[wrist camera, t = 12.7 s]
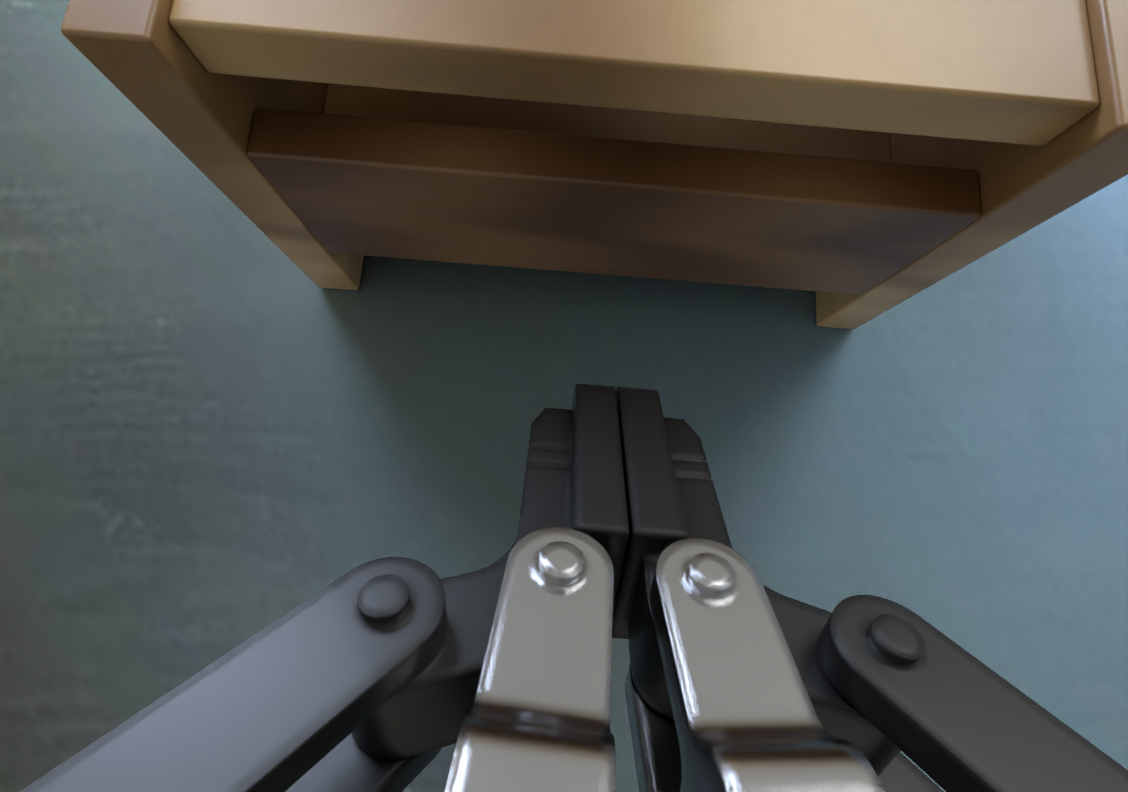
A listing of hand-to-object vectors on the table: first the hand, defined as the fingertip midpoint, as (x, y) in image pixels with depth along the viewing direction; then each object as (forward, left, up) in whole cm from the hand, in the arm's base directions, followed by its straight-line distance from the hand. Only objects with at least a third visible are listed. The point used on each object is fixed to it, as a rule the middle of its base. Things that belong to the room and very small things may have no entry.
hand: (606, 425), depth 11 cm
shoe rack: (0, -10, -5) cm, 11 cm away
